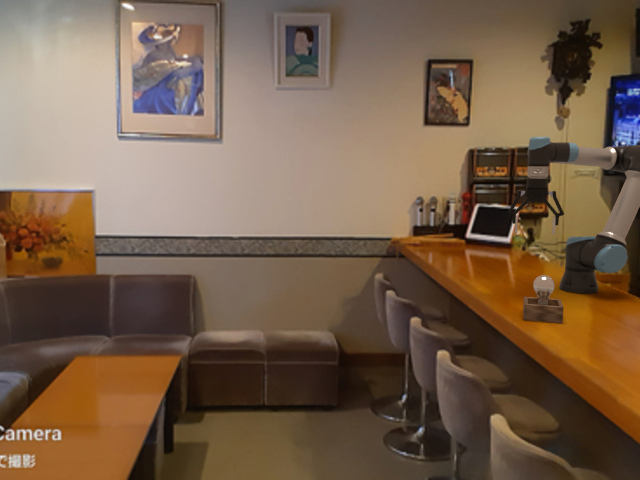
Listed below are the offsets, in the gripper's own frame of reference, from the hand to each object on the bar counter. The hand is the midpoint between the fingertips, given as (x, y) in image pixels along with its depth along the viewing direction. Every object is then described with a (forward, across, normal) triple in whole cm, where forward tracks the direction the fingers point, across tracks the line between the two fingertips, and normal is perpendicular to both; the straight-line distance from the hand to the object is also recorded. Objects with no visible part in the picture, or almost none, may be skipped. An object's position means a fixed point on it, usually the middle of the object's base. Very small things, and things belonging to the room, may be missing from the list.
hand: (534, 233), depth 228 cm
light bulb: (+24, +3, -25) cm, 35 cm away
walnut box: (+27, +3, -25) cm, 37 cm away
